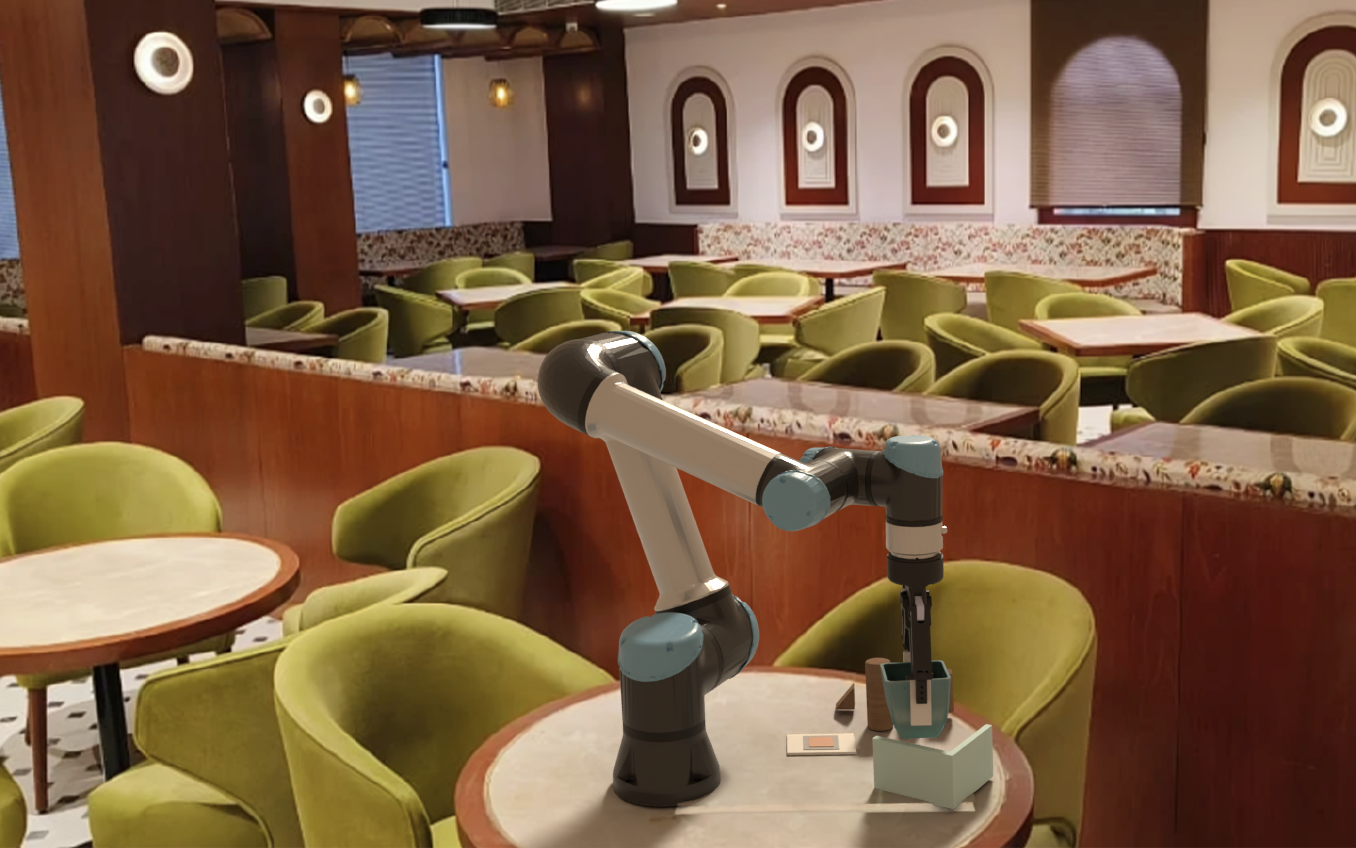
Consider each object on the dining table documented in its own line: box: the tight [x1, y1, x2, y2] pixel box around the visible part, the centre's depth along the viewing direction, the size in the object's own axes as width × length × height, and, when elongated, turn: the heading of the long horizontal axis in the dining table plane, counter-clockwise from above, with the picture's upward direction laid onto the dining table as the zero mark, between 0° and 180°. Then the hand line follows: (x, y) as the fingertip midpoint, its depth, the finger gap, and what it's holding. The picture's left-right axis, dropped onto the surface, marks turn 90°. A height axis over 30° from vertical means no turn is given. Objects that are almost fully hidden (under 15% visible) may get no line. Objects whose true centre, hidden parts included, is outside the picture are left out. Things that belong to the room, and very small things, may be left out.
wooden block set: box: [834, 657, 955, 732], centre depth 222 cm, size 18×9×10 cm, turn 82°
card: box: [786, 732, 857, 756], centre depth 216 cm, size 10×7×1 cm
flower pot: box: [880, 659, 951, 740], centre depth 199 cm, size 9×9×9 cm
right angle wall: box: [871, 723, 994, 810], centre depth 201 cm, size 12×12×8 cm
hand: (917, 710), depth 199 cm, fingers open, 10 cm apart
